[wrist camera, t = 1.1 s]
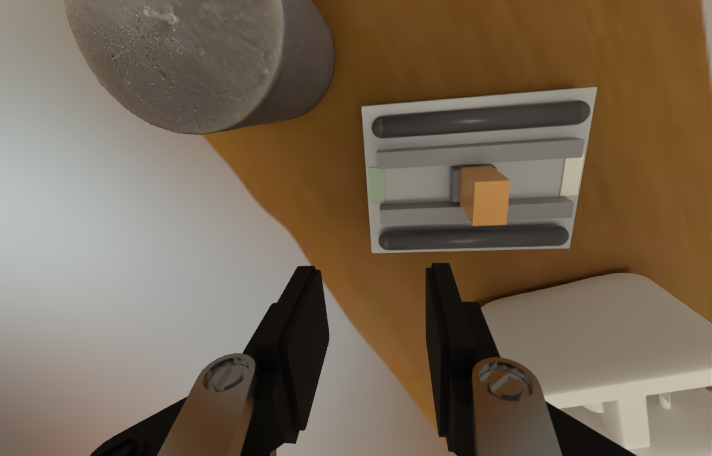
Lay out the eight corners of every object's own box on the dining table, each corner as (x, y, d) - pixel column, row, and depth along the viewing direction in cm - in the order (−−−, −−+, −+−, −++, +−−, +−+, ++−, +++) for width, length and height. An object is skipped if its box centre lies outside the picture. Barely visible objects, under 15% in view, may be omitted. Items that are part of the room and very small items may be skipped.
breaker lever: (489, 197, 26) (514, 224, 20) (449, 199, 26) (464, 226, 21) (492, 161, 24) (519, 179, 19) (450, 163, 25) (466, 182, 20)
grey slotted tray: (552, 233, 29) (579, 257, 25) (373, 239, 31) (370, 261, 27) (574, 87, 25) (611, 86, 21) (364, 105, 27) (359, 107, 23)
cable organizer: (640, 260, 29) (783, 354, 19) (648, 350, 33) (772, 474, 22) (471, 299, 33) (509, 398, 22) (494, 377, 36) (536, 497, 25)
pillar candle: (260, 139, 29) (142, 179, 15) (193, 27, 26) (-28, -52, 12) (357, 83, 26) (323, 68, 13) (295, -48, 24) (163, -251, 10)
